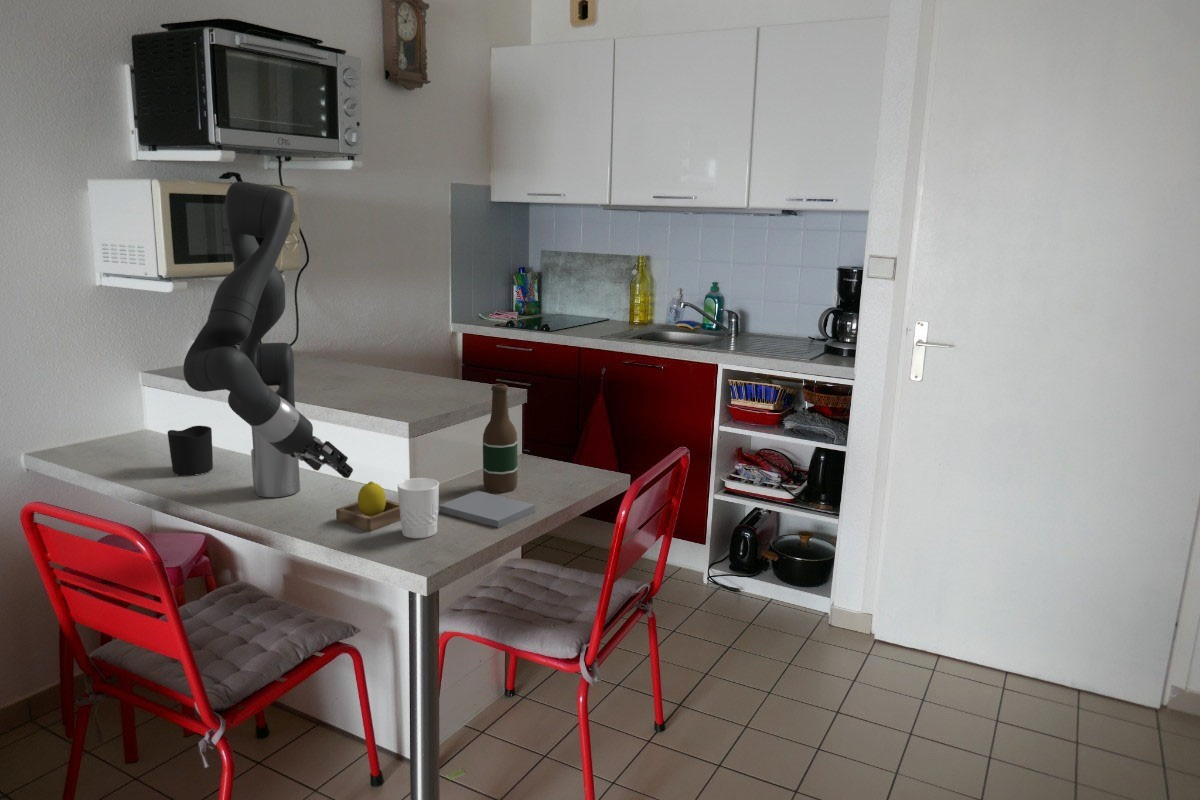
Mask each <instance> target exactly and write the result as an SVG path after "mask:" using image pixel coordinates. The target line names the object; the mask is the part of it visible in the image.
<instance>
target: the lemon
mask: <svg viewBox="0 0 1200 800" xmlns="http://www.w3.org/2000/svg"><path fill="white" fill-rule="evenodd" d="M386 500H387V498H386V493H385V491H384V488H383V487H382V486H381V485H380V484H378V483H375V482H374V481H369V482H368V483H366V484H364V485H363V486H361V488H360V489H359V491H358V495H357V502H358V506H359V509H360V511H361V512H362V513H363V515H366V516H370V517H372V516H375V515H377V514H380V513H383V510H384V508H385V505H386Z"/></svg>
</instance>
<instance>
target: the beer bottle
mask: <svg viewBox="0 0 1200 800" xmlns="http://www.w3.org/2000/svg"><path fill="white" fill-rule="evenodd" d="M490 390H491V391H492V392H491V393H492V394H491V395H492V397H491V414H490V420H489V422H488V423H487V424H486V426H485V428H484V431H483V435H482V475H483V476H482V477H483V479H482V481H483V488H484V490H486V491H488V493H496V492H497V493H499V494H503V493H504V492H505V493H509V491H510V492H514V491H515V489H516V488H517V486H518V433H517V430H516V427H515V425H514V424H513V422H512V421H511V419H510V415H509V403H508V390H509V387H508V385H507V384H505V383H494V384H492V385H491V389H490Z"/></svg>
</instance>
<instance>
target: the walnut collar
mask: <svg viewBox="0 0 1200 800" xmlns="http://www.w3.org/2000/svg"><path fill="white" fill-rule="evenodd" d="M335 514H336V518H335V519H336V522H338V521H339V523H341V524H345V525H348V524H349V526H352V527H355V528H358V529H362V530H365V531H369V532H374V531H376V530H378V529H381V528H384V527H386V526H389V525H391V523H392V524H394V523H396V522H399V521H401V519H400V508H399V502H396V501H393V500H388V499H386V505H385V508H384V510H383V512H382V513H380V514H377V515H375V516H372V517H370V516H366V515H364V514H363V513H362V512H361V511H360V509H359V506H358V501H356V502H353V503H350V504H348V505H345V506H342V507H341V506H340V507H339V508H336V509H335Z"/></svg>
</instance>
